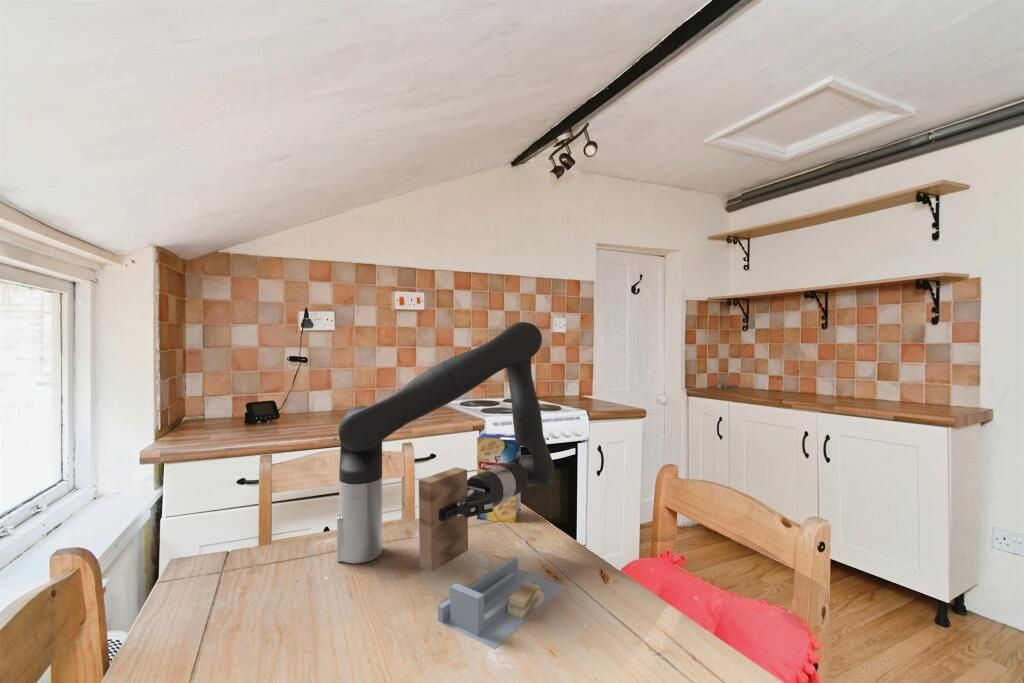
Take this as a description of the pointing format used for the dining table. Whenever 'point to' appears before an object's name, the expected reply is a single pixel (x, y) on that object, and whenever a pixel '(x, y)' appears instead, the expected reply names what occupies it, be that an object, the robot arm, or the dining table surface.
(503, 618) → the rack
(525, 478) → the robot arm
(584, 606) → the dining table surface
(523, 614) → the offcut lower
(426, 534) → the walnut board
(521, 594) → the offcut upper
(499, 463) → the beverage box
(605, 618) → the dining table surface
